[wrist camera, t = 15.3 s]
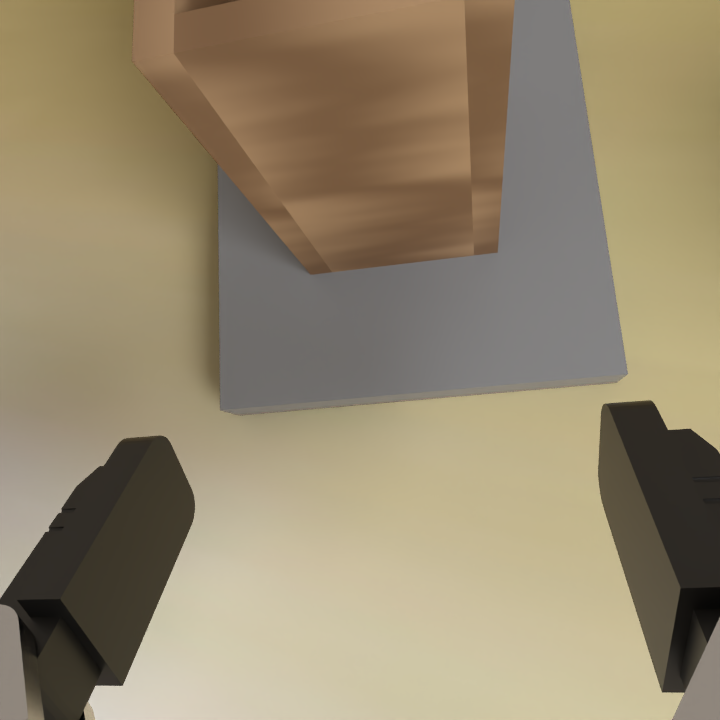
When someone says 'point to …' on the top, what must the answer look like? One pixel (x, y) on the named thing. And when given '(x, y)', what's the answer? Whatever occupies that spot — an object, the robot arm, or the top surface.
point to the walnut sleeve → (345, 117)
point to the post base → (441, 276)
